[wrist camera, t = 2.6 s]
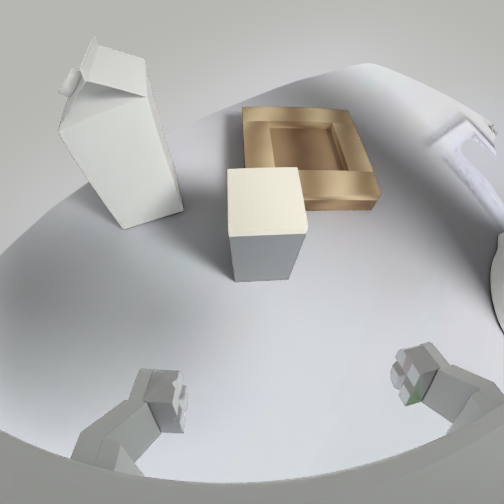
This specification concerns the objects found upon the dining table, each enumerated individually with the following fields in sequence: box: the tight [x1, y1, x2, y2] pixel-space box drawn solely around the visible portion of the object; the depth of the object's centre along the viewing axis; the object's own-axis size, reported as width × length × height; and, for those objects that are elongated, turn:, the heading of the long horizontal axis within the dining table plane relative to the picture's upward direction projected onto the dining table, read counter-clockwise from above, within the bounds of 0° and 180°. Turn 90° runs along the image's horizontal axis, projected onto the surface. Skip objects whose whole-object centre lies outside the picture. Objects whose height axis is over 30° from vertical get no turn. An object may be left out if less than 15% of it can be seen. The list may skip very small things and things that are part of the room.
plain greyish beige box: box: [227, 167, 308, 282], centre depth 23 cm, size 5×5×10 cm
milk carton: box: [58, 36, 184, 230], centre depth 22 cm, size 7×7×19 cm
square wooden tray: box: [242, 107, 381, 211], centre depth 31 cm, size 14×14×3 cm
